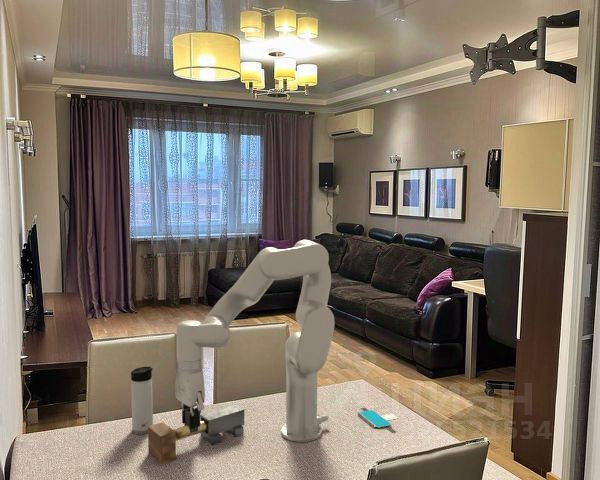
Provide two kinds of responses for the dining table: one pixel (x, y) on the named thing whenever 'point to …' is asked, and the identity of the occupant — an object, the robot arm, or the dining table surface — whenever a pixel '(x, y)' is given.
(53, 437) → the dining table surface
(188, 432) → the brass rod
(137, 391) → the travel mug
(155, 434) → the walnut socket
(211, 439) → the metal sleeve
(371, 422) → the cyan and grey device
